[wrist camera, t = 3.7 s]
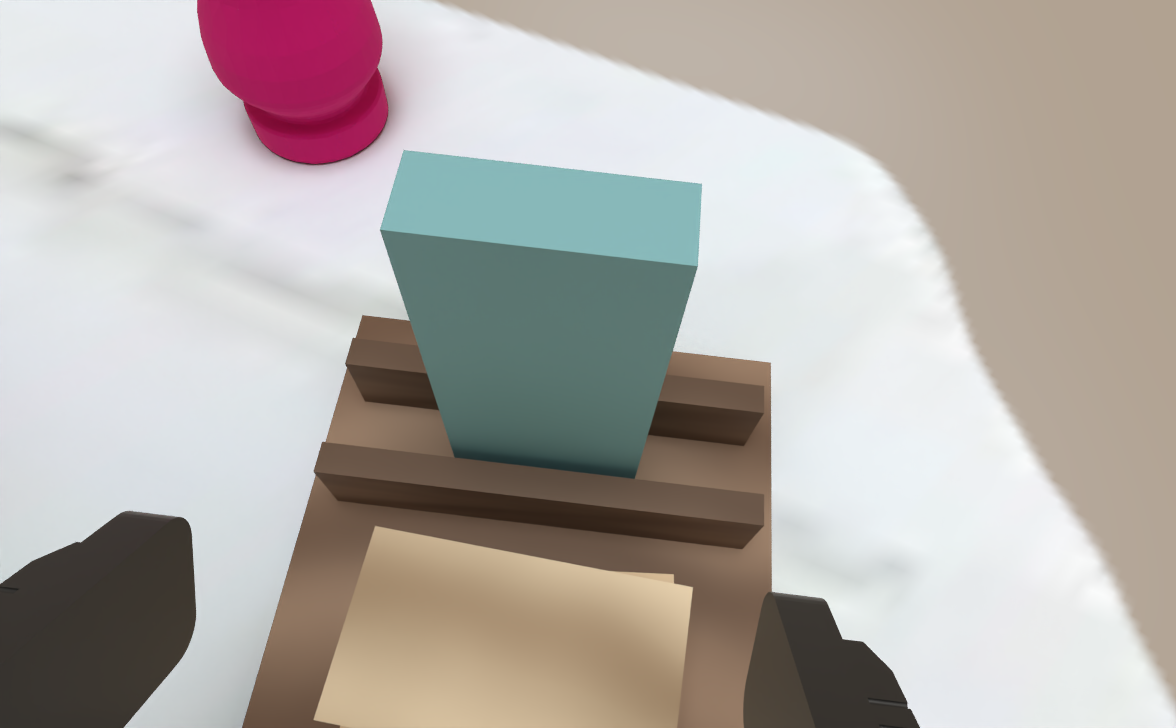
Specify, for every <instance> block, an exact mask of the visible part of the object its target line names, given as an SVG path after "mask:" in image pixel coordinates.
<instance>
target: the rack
mask: <svg viewBox="0 0 1176 728" xmlns="http://www.w3.org/2000/svg"><path fill="white" fill-rule="evenodd" d="M345 364H346V366H347V370H346V374H345V377H344V380H343V384H342V387H341V391H340V394H339V398H338V401H337V404H336V408H335V411H334V415H333V418H332V422H331V425H330V428H329V432H328V435H327V439H326V442H322V445H321V448H320V451H319V455H318V458H317V462H316V465H315V468H314V473H315V474H316V476H315V480H314V483H313V487H312V490H311V493H310V497H309V500H308V504H307V507H306V511H305V514H304V517H303V521H302V524H301V528H300V531H299V535H298V538H297V541H296V545H295V548H294V552H293V555H292V559H291V562H290V565H289V569H288V572H287V576H286V579H285V583H284V586H283V589H282V593H281V596H280V600H279V603H278V606H277V610H276V613H275V617H274V620H273V624H272V627H271V630H270V634H269V637H268V641H267V644H266V648H265V651H264V654H263V658H262V661H261V665H260V668H259V672H258V675H257V678H256V682H255V685H254V689H253V692H252V696H251V699H250V702H249V706H248V709H247V713H246V716H245V719H244V723H243V726H242V728H340V725H335V724H330V723H326V722H321V721H316V720H314V716H315V713H316V710H317V707H318V704H319V701H320V698H321V695H322V691H323V688H324V685H325V682H326V679H327V676H328V673H329V669H330V666H331V663H332V660H333V657H334V654H335V651H336V647H337V644H338V641H339V638H340V635H341V632H342V629H343V625H344V622H345V619H346V616H347V613H348V610H349V607H350V604H351V600H352V597H353V594H354V591H355V588H356V585H357V582H358V578H359V575H360V572H361V569H362V566H363V563H364V560H365V556H366V553H367V550H368V547H369V544H370V541H371V538H372V534H373V531H374V528H375V526H378V527H383V528H388V529H393V530H399V531H404V532H409V533H414V534H419V535H425V536H430V537H435V538H440V539H445V540H451V541H456V542H461V543H466V544H471V545H476V546H482V547H487V548H492V549H497V550H502V551H508V552H513V553H518V554H523V555H528V556H534V557H539V558H544V559H549V560H554V561H560V562H565V563H570V564H575V565H580V566H585V567H591V568H596V569H601V570H606V571H616V572H636V573H657V574H674V584H679V585H684V586H689V587H693V591H692V600H691V609H690V618H689V627H688V636H687V645H686V653H685V662H684V671H683V680H682V689H681V698H680V706H679V715H678V724H677V728H744V723H743V702H744V691H745V684H746V679H747V674H748V669H749V664H750V660H751V655H752V650H753V645H754V641H755V636H756V631H757V626H758V621H759V617H760V612H761V607H762V603H763V600H764V598H765V595H766V594H767V593H768V592H772V567H771V363H768V362H759V361H751V360H742V359H733V358H725V357H716V356H708V355H699V354H691V353H682V352H673V351H672V355H671V358H670V361H669V365H668V368H667V372H666V375H665V378H664V382H663V385H662V388H661V392H660V395H659V399H658V402H657V405H656V409H655V412H654V415H653V419H652V422H651V426H650V429H649V432H648V436H647V439H646V442H645V446H644V449H643V453H642V456H641V459H640V463H639V466H638V469H637V473H636V476H635V479H631V478H623V477H614V476H606V475H598V474H589V473H581V472H572V471H564V470H556V469H547V468H539V467H530V466H522V465H513V464H505V463H497V462H488V461H480V460H471V459H463V458H455V457H454V454H453V451H452V448H451V445H450V442H449V439H448V436H447V433H446V430H445V427H444V423H443V420H442V417H441V414H440V411H439V408H438V405H437V402H436V399H435V396H434V393H433V390H432V387H431V384H430V381H429V378H428V375H427V372H426V368H425V365H424V362H423V359H422V356H421V353H420V350H419V347H418V344H417V341H416V338H415V335H414V332H413V329H412V326H411V323H410V321H407V320H398V319H390V318H381V317H373V316H364V315H362V319H361V322H360V326H359V329H358V333H357V336H356V338H353V339H352V343H351V346H350V349H349V353H348V356H347V360H346V363H345Z"/></svg>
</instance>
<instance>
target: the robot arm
mask: <svg viewBox="0 0 1176 728" xmlns="http://www.w3.org/2000/svg"><path fill="white" fill-rule="evenodd" d="M195 620H196V602H195V584H194V566H193V548H192V533H191V528H190V525H189V523H188V522H187V520H186V519H184V518H181V517H174V516H166V515H158V514H150V513H142V512H134V511H125V512H122V513H120V514H119V515H117V516H116V517H114V518H113V519H112V520H110V521H109V522H108V523H106V524H105V525H104V526H102V527H101V528H100V529H98V530H97V531H96V532H94V533H93V534H92V535H90V536H89V537H88V538H86V539H85V540H84V541H83V542H81V543H80V542H75V543H73V544H71V545H68V546H66V547H64V548H62V549H59V550H57V551H55V552H52V553H50V554H48V555H45V556H43V557H41V558H38V559H36V560H34V561H32V562H30V563H29V564H28V565H26V566H25V567H23V568H22V569H21V570H19V571H18V572H16V573H15V574H14V575H12V576H11V577H10V578H8V579H7V580H5V581H4V582H3V583H1V584H0V728H124V726H125V725H126V724H127V723H128V722H129V721H130V719H131V718H132V717H133V716H134V715H135V713H136V712H137V711H138V710H139V709H140V707H141V706H142V705H143V704H144V703H145V702H146V700H147V699H148V698H149V697H150V696H151V694H152V693H153V692H154V691H155V690H156V689H157V687H158V686H159V685H160V684H161V683H162V681H163V680H164V679H165V678H166V677H167V676H168V674H169V673H170V672H171V671H172V670H173V668H174V667H175V666H176V665H177V664H178V662H179V661H180V660H181V658H182V657H183V655H184V654H185V652H186V650H187V648H188V645H189V643H190V641H191V638H192V635H193V631H194V627H195ZM743 723H744V728H920V727H919V725H918V723H917V721H916V719H915V717H914V715H913V713H912V711H911V709H908V707H907V700H906V698H905V696H904V694H903V692H902V690H901V688H900V686H899V684H898V682H897V680H896V678H895V676H894V674H893V672H892V670H891V669H890V668H889V667H888V666H887V665H886V664H885V663H884V662H883V661H882V660H881V659H880V658H879V657H878V656H877V655H876V654H875V653H874V652H873V651H872V650H871V649H870V648H869V647H868V646H867V645H866V644H865V643H864V642H860V641H852V640H844V639H842V637H841V634H840V632H839V630H838V627H837V625H836V623H835V620H834V618H833V616H832V613H831V611H830V609H829V606H828V604H827V602H826V601H825V600H824V599H823V598H815V597H807V596H799V595H791V594H783V593H775V592H768V593H767V594H766V595H765V598H764V600H763V603H762V607H761V612H760V617H759V621H758V626H757V631H756V636H755V641H754V645H753V650H752V655H751V660H750V664H749V669H748V674H747V679H746V684H745V691H744V702H743Z"/></svg>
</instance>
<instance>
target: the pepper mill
mask: <svg viewBox="0 0 1176 728" xmlns="http://www.w3.org/2000/svg"><path fill="white" fill-rule="evenodd" d="M197 13H198V20H199V26H200V33H201V38H202V41H203V44H204V47H205V50H206V53H207V55H208V58H209V61H210V63H211V66H212V69H213V71H214V72H215V74H216V76H217V77H218V79H219V80H220V81H221V83H222V84H223V85H224V86H225V87H226V88H227V89H228V90H229V91H231V92H232V93H233V94H234V95H235V96H237V97H238V98H240V99H241V100H243V102H244V106H245V109H246V112H247V114H248V116H249V118H250V120H251V122H252V124H253V126H254V129H255V131H256V133H257V135H258V137H259V139H260V140H261V141H262V143H263V144H264V145H265V146H266V147H267V148H269V149H270V150H271V151H272V152H274V153H275V154H277V155H279V156H281V157H284V158H286V159H289V160H291V161H295V162H303V163H311V164H319V163H328V162H335V161H338V160H341V159H344V158H347V157H350V156H352V155H354V154H356V153H357V152H359V151H361V150H362V149H364V148H366V147H367V146H369V145H370V144H371V143H372V142H373V141H374V140H375V139H376V137H377V136H378V135H379V133H380V132H381V131H382V129H383V127H384V125H385V122H386V119H387V116H388V104H387V98H386V94H385V90H384V87H383V83H382V79H381V75H380V73H379V70H378V68H377V66H378V64H379V61H380V57H381V53H382V43H383V42H382V34H381V29H380V25H379V22H378V19H377V17H376V14H375V11H374V8H373V5H372V2H371V0H197Z"/></svg>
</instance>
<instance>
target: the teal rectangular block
mask: <svg viewBox="0 0 1176 728" xmlns="http://www.w3.org/2000/svg"><path fill="white" fill-rule="evenodd" d="M701 192H702V184H698V183H689V182H680V181H671V180H662V179H654V178H645V177H636V176H627V175H618V174H609V173H601V172H592V171H583V170H574V169H565V168H556V167H548V166H539V165H530V164H521V163H512V162H504V161H495V160H486V159H477V158H468V157H459V156H451V155H442V154H433V153H424V152H415V151H406V150H404V151H403V154H402V158H401V161H400V165H399V168H398V171H397V175H396V178H395V181H394V185H393V188H392V191H391V195H390V198H389V201H388V205H387V208H386V212H385V215H384V218H383V222H382V225H381V228H380V231H381V234H382V237H383V240H384V243H385V246H386V249H387V252H388V255H389V258H390V262H391V265H392V268H393V271H394V274H395V277H396V280H397V283H398V286H399V289H400V292H401V295H402V298H403V301H404V304H405V307H406V310H407V313H408V317H409V320H410V323H411V326H412V329H413V332H414V335H415V338H416V341H417V344H418V347H419V350H420V353H421V356H422V359H423V362H424V365H425V368H426V372H427V375H428V378H429V381H430V384H431V387H432V390H433V393H434V396H435V399H436V402H437V405H438V408H439V411H440V414H441V417H442V420H443V423H444V427H445V430H446V433H447V436H448V439H449V442H450V445H451V448H452V451H453V454H454V457H455V458H463V459H471V460H480V461H488V462H497V463H505V464H513V465H522V466H530V467H539V468H547V469H556V470H564V471H572V472H581V473H589V474H598V475H606V476H614V477H623V478H631V479H635V476H636V473H637V469H638V466H639V463H640V459H641V456H642V453H643V449H644V446H645V442H646V439H647V436H648V432H649V429H650V426H651V422H652V419H653V415H654V412H655V409H656V405H657V402H658V399H659V395H660V392H661V388H662V385H663V382H664V378H665V375H666V372H667V368H668V365H669V361H670V358H671V355H672V351H673V348H674V345H675V341H676V338H677V335H678V331H679V328H680V324H681V321H682V318H683V314H684V311H685V308H686V304H687V301H688V297H689V294H690V291H691V287H692V284H693V281H694V277H695V274H696V270H697V267H698V251H699V231H700V212H701Z"/></svg>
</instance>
